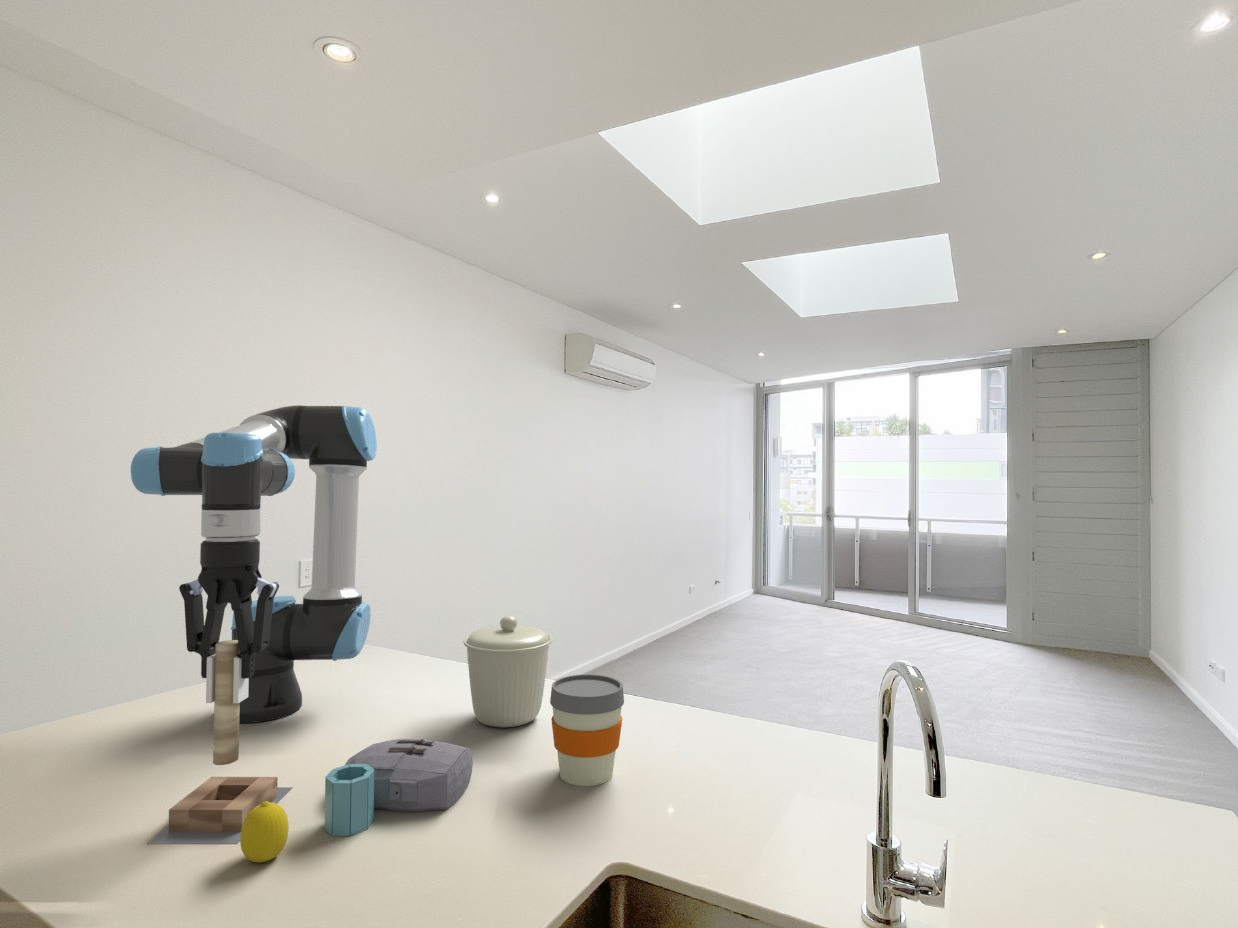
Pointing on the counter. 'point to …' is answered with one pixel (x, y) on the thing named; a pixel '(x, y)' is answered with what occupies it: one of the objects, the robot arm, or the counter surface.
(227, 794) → the frame
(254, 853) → the lemon
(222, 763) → the dowel
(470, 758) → the grey rounded bag
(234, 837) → the tray
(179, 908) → the counter surface
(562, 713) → the reusable coffee cup
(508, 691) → the canister
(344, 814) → the cup
